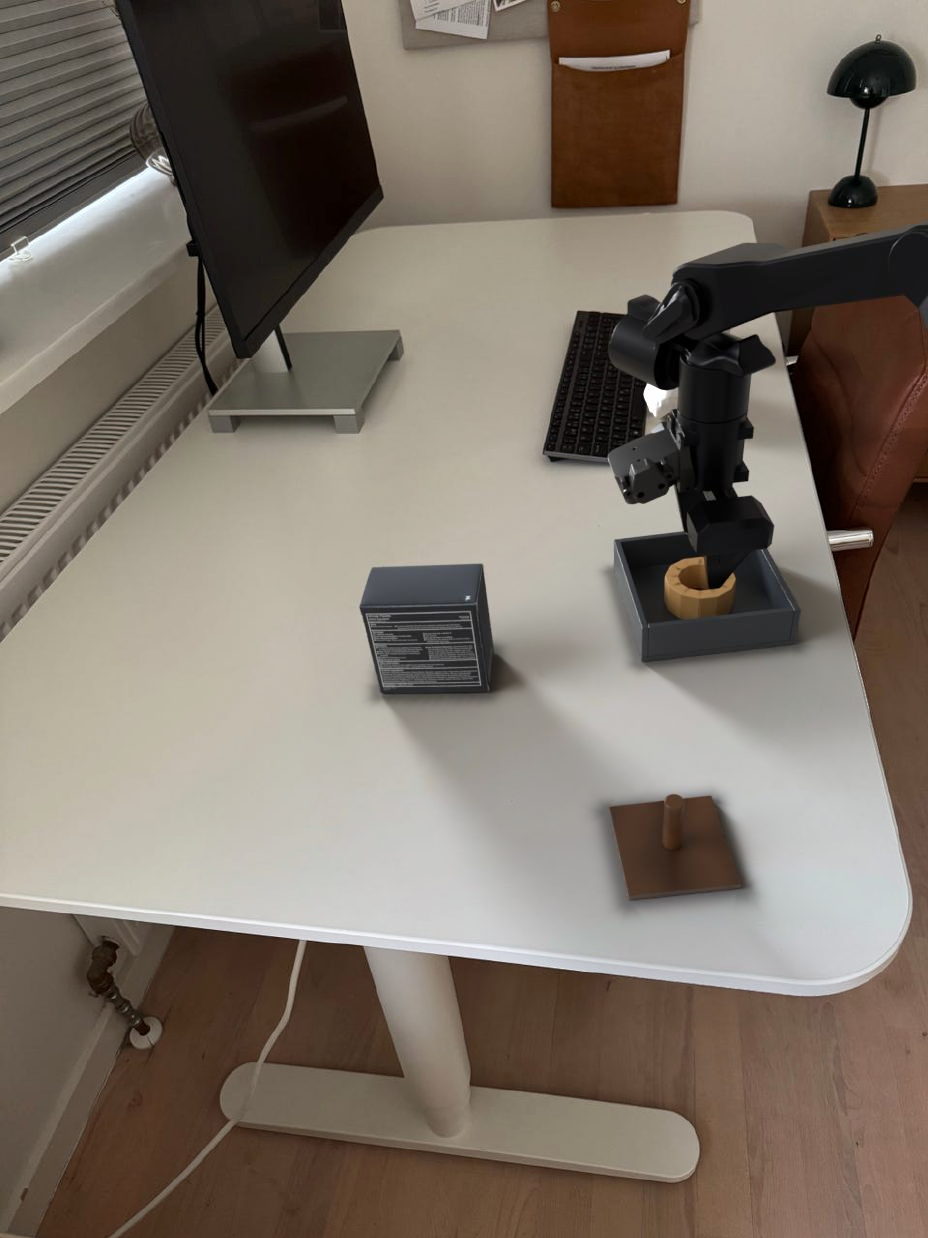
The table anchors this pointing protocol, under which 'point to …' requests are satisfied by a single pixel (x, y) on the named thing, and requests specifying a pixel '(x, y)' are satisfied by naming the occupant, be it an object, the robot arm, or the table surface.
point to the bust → (660, 400)
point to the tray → (759, 591)
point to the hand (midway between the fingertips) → (701, 558)
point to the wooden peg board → (672, 847)
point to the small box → (429, 628)
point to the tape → (696, 591)
